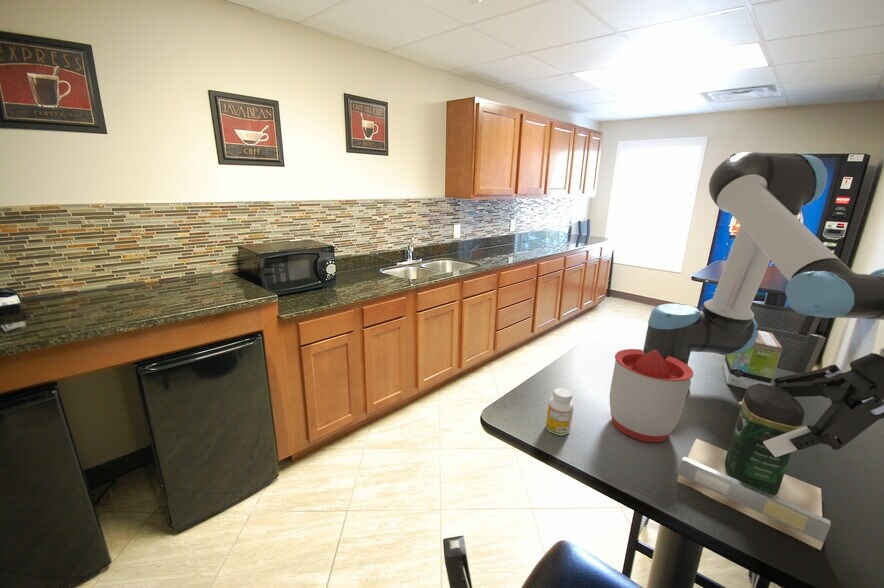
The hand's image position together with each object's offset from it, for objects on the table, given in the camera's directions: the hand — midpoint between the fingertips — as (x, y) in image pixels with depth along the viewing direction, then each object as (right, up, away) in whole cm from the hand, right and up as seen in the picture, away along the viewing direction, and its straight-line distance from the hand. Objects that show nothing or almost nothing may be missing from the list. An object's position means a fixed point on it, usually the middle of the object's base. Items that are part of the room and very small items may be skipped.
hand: (754, 427), depth 69 cm
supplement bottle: (-31, -7, +18) cm, 36 cm away
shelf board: (+1, -12, +3) cm, 13 cm away
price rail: (-5, -12, -3) cm, 14 cm away
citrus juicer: (-10, -7, +21) cm, 24 cm away
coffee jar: (+1, -11, +3) cm, 12 cm away
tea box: (+36, -2, +47) cm, 59 cm away
